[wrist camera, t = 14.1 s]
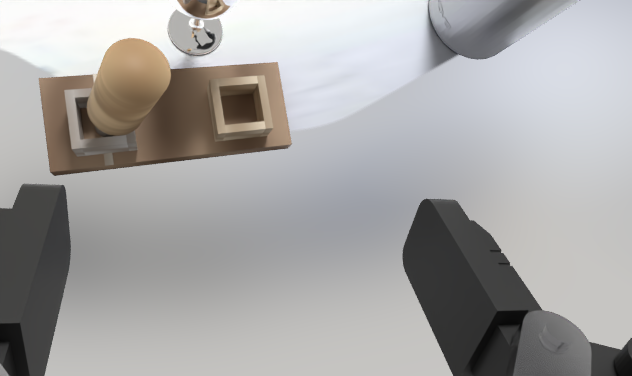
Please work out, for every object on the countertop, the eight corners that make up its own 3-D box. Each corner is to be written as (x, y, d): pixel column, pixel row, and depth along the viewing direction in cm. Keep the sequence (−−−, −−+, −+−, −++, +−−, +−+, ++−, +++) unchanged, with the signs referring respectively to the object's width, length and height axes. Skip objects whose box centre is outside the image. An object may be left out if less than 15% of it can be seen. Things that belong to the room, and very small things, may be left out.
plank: (273, 68, 46) (283, 50, 42) (287, 148, 45) (299, 136, 41) (43, 85, 40) (30, 65, 36) (54, 175, 40) (42, 165, 36)
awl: (128, 103, 41) (166, 39, 30) (134, 149, 40) (174, 101, 30) (77, 103, 39) (98, 36, 28) (82, 151, 38) (106, 101, 28)
